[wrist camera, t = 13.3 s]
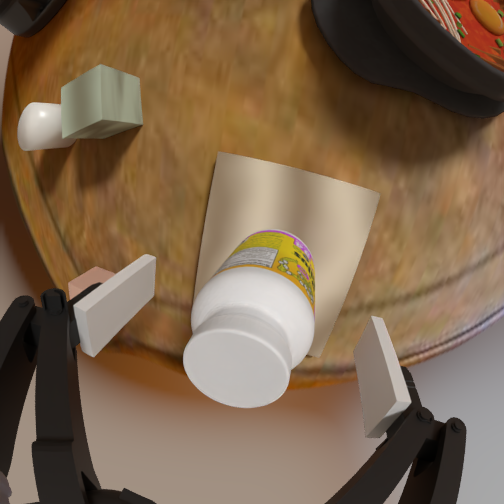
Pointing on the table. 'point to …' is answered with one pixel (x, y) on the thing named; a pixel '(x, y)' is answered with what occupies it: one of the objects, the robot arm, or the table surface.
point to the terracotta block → (88, 280)
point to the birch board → (289, 225)
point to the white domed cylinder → (42, 127)
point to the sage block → (100, 104)
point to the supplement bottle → (253, 321)
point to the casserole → (423, 48)
